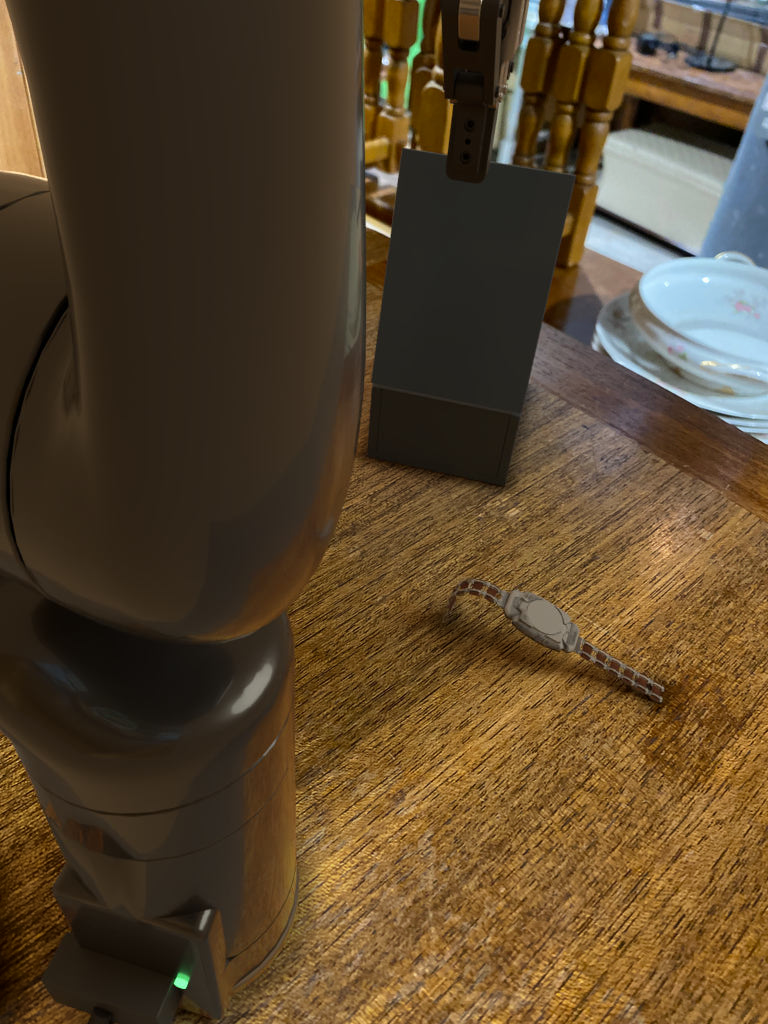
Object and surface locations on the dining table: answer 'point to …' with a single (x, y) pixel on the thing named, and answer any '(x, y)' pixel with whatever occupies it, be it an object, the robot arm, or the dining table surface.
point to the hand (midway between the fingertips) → (466, 177)
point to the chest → (441, 434)
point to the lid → (468, 279)
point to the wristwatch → (552, 630)
